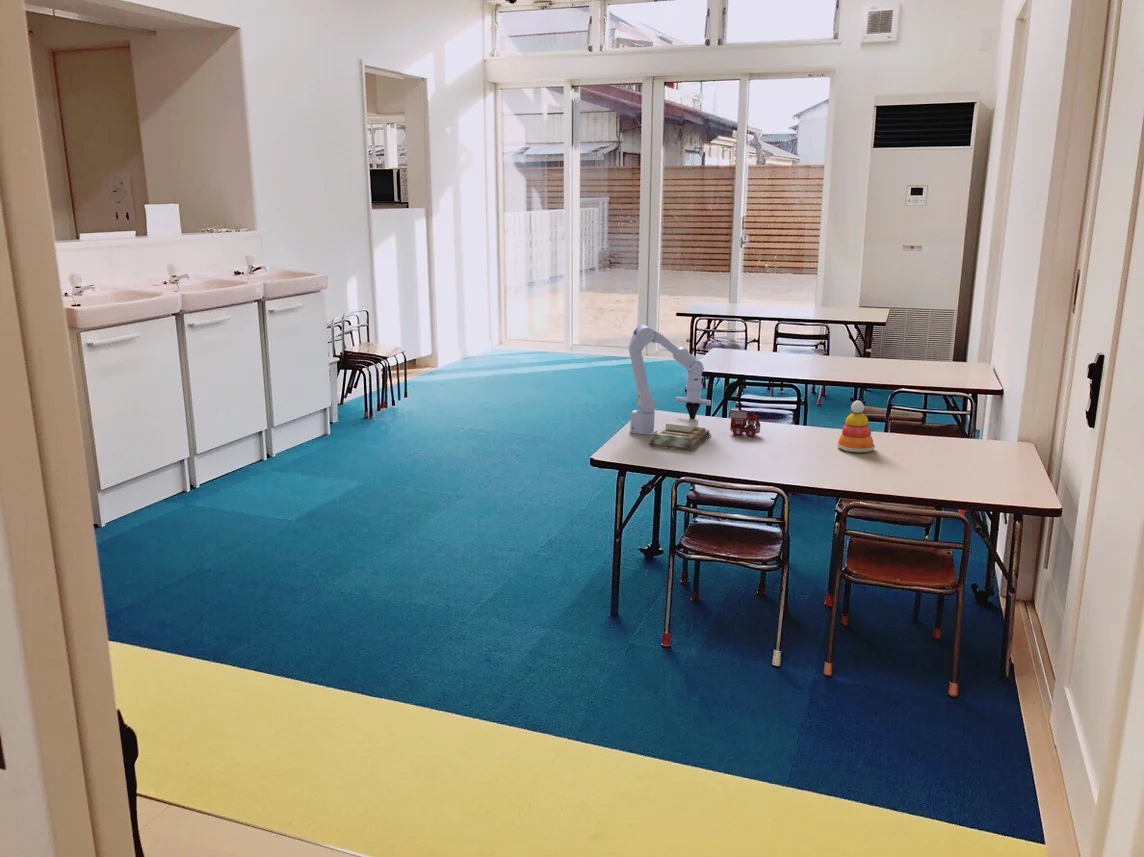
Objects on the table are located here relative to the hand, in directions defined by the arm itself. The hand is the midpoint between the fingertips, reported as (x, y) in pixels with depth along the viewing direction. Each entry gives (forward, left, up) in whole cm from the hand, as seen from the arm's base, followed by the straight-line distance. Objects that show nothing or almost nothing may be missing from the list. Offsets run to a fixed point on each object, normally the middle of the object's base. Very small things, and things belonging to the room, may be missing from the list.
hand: (692, 420), depth 370 cm
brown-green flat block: (0, -16, -5) cm, 17 cm away
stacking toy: (+65, +3, -5) cm, 65 cm away
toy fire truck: (+21, +4, -5) cm, 22 cm away
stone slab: (-2, -9, -1) cm, 9 cm away
